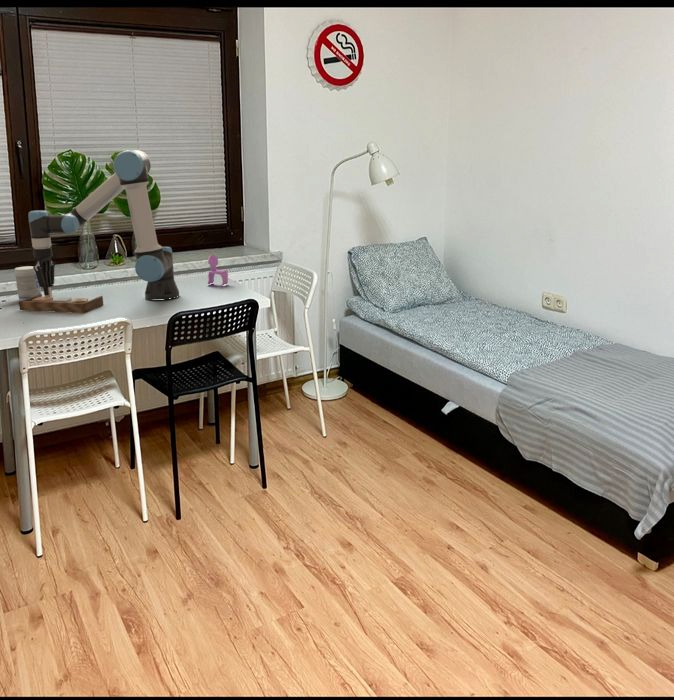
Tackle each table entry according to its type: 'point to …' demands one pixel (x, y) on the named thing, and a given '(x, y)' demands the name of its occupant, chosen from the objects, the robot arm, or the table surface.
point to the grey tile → (62, 300)
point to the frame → (60, 305)
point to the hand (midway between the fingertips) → (49, 301)
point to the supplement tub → (26, 282)
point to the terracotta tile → (43, 299)
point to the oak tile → (79, 300)
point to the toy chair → (213, 263)
